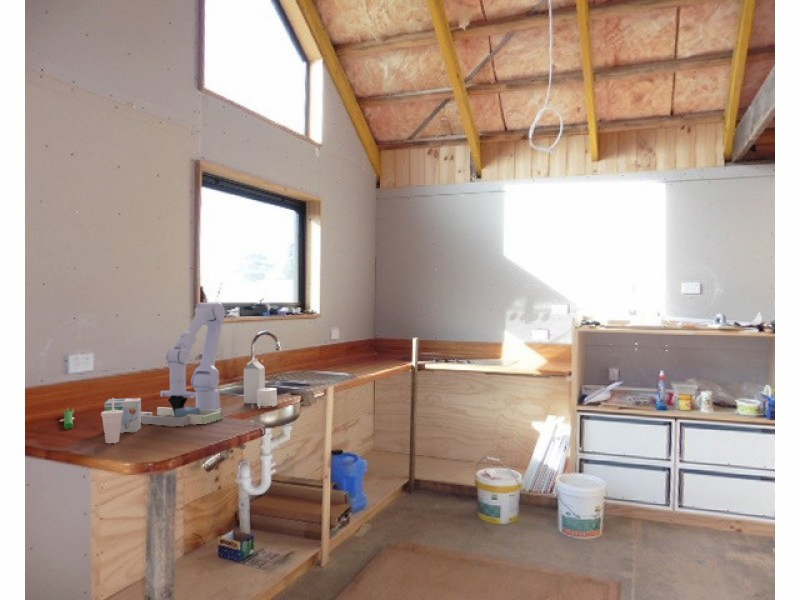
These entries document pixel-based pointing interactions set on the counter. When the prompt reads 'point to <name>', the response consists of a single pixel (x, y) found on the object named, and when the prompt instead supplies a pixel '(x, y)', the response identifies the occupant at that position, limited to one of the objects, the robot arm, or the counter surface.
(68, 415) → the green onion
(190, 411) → the block
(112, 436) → the smoothie
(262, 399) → the toilet paper
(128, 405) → the light bulb box
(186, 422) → the trap box
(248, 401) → the milk carton
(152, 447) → the counter surface
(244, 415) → the counter surface
